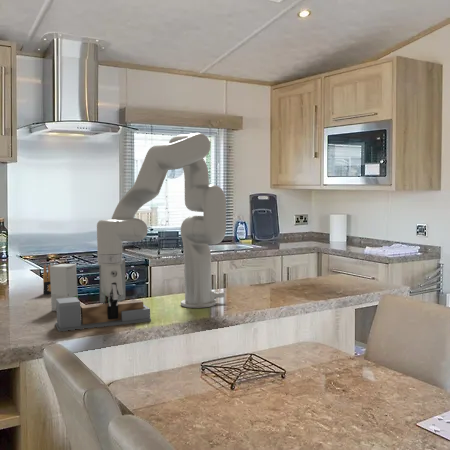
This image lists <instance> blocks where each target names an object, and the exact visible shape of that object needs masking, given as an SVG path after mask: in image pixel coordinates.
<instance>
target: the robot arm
mask: <svg viewBox="0 0 450 450" xmlns="http://www.w3.org/2000/svg"><path fill="white" fill-rule="evenodd" d="M211 145H212V144H211V141H210V139H209V137H208V136H207V135H206V134H204V133H200V132H195V133H187V134H178V135H175V136H173V137H172V138H171V139H170V140H169V142H168V143H161V144H156V145H153V146H150V148H149V149H148V150H147V153H146V154H145V156H144V159H143V161H142V164H141V167H140V170H139V172H138V174H137V176H136V179H135V182H134V184H133V185H132V187H131V188H130V189H128V191H127V192H126V193H125V194H124V196H122V197H121V200H120V201H119V202H118V203H117V205H116V207H115V209H114V212H113V214H112V216H111V219H110V218H109V219H100V220H99V221H98V222H97V223H96V239H97V241H96V244H97V247H96V248H97V250H96V251H97V265H98V266H99V265H101V289H102V293H103V294H105V303H108V306H107V311H108V319H118V296H117V294H118V295H119V296H122V295H123V288H122V274H121V266H120V264H122V259H123V242H129V243H130V242H131V243H133V242H134V243H137V242H140V241H142V240H144V239H145V238H146V236H147V235H148V231H149V229H148V228H149V227H148V225H147V224H146V222H145V221H144V220H142V219H140V218H137V217H135V215H136V214H137V212H138V211H139V210H140V209H141V208H142V207H143V206H145V204H148V203H149V202H150V201H152V200H153V199H155V198H156V197H157V196H159V194H160V192H161V190H162V186H163V184H164V182H165V179H166V176H167V174H168V172H169V171H173V170H179V169H182V170H183V177H184V178H183V179H184V204H185V205H184V206H186V207H185V208H187V210H189V211H191V212H196V213H203V215H191V216H188V217H187V218H185V219H184V220H183V221H182V223H181V225H180V235H181V236H180V237H181V240H182V246H183V263H184V264H183V265H184V267H183V268H184V299H183V300H181V301H180V306H182V307H184V308H188V309H189V308H190V309H200V308H201V309H203V308H210V307H214V306H215V305H216V304H217V300H216V299H218V298H219V299H222V298H225V295H226V294H225V292H224V291H222V292H221V291H220V292H219V291H216V292H215V291H213V290H212V254H211V249H210V245H217V244H220V243H222V241H223V240H224V238H225V236H226V231H227V197H226V195H225V192H224V190H223V189H222V188H221V187H220V186H218V185H216V184H210V178H209V177H210V175H209V169H208V165H207V162H206V161H205V159H204V158H206V157H207V156H208V155H209V153H210V151H211ZM105 303H104V304H105Z"/></svg>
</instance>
